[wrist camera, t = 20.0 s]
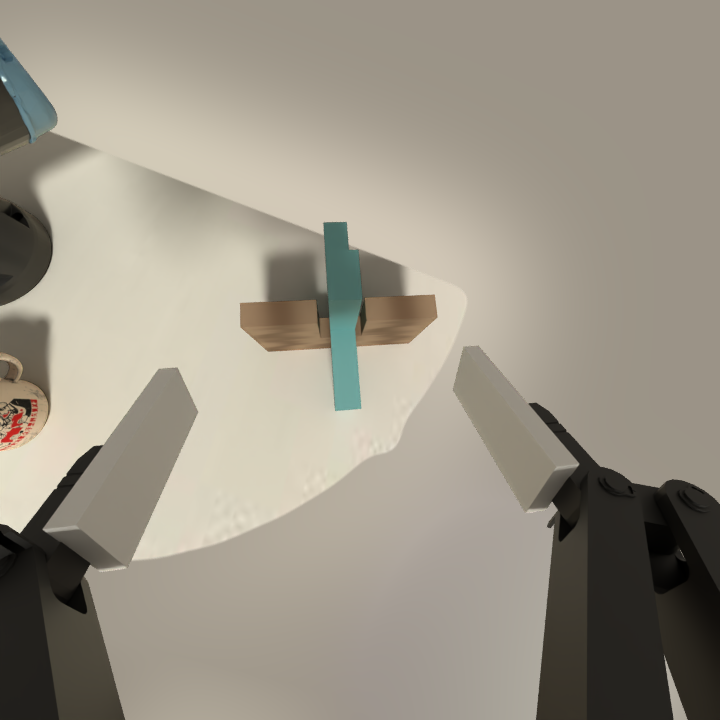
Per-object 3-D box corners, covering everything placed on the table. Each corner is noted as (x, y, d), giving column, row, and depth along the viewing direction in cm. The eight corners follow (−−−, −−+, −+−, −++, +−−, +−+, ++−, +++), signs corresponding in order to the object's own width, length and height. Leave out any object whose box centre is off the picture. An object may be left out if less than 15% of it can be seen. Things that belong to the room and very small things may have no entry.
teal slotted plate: (353, 409, 40) (371, 408, 20) (335, 410, 39) (335, 411, 20) (343, 273, 43) (350, 158, 23) (326, 274, 43) (319, 158, 23)
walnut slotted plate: (268, 351, 40) (240, 327, 28) (267, 334, 40) (240, 303, 29) (408, 343, 42) (437, 317, 30) (406, 326, 42) (434, 294, 31)
